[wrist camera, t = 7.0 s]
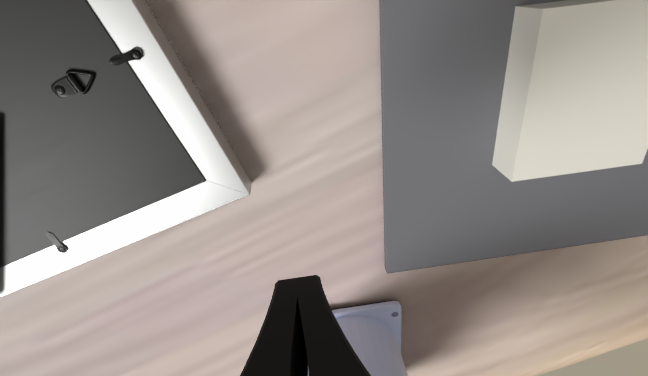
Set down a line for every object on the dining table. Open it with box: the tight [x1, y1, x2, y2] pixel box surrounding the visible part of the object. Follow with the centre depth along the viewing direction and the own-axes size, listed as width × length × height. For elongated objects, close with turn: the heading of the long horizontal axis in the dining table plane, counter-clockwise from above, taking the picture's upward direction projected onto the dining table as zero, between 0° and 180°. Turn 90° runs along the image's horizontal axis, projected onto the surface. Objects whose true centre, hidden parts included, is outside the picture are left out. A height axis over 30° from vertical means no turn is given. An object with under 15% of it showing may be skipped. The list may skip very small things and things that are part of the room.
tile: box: [492, 0, 648, 182], centre depth 18 cm, size 8×2×7 cm
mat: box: [380, 0, 648, 274], centre depth 19 cm, size 22×18×1 cm
